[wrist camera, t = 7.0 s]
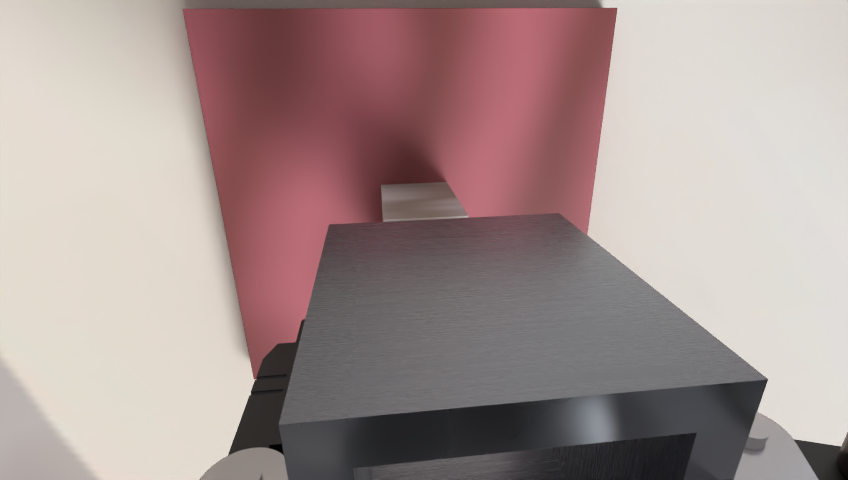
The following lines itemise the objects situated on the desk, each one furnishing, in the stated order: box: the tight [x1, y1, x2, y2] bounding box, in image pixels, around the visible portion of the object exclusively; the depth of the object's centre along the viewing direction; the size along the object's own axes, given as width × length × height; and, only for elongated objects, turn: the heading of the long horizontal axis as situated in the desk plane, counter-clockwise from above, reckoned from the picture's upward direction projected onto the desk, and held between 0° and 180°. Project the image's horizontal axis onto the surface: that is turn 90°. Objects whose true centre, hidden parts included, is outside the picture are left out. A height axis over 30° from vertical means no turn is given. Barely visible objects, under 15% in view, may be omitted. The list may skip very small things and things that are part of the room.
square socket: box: [279, 213, 768, 480], centre depth 9 cm, size 5×5×6 cm
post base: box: [183, 8, 617, 379], centre depth 18 cm, size 16×16×6 cm
